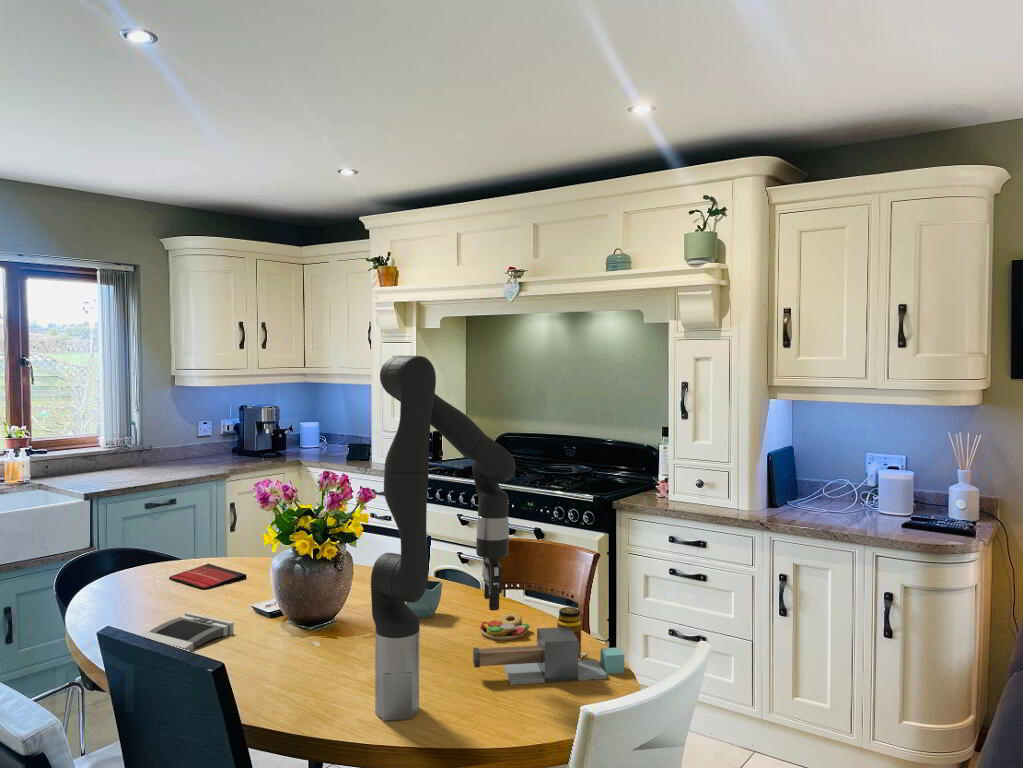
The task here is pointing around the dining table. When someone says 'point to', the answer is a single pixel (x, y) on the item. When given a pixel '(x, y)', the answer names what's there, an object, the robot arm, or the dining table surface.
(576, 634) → the condiment
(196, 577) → the binder
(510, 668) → the base plate
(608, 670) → the block
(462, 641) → the dining table surface
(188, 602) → the dining table surface
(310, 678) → the dining table surface
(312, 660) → the dining table surface
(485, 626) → the toy food set
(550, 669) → the bearing block
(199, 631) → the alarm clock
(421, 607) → the flower pot
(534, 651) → the shaft
